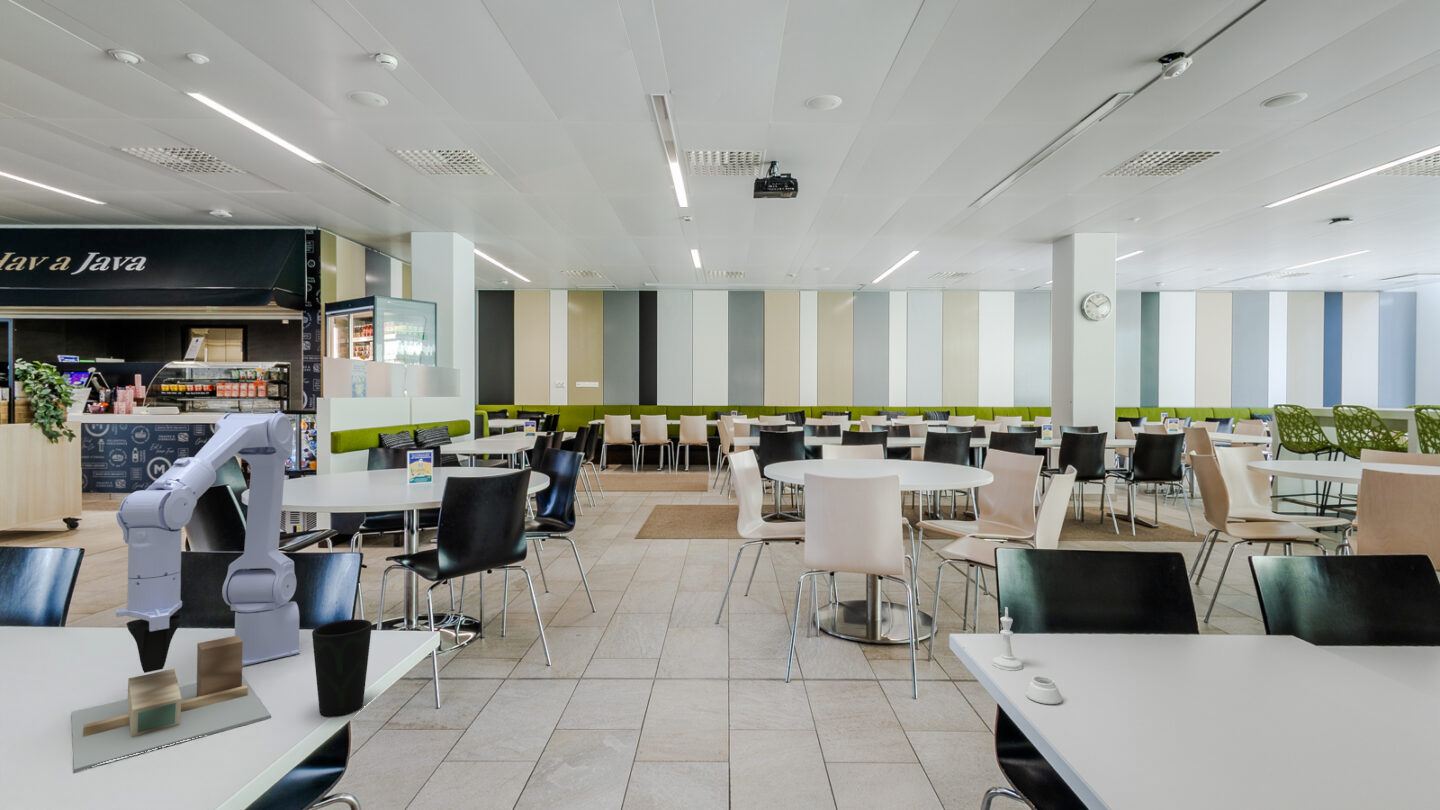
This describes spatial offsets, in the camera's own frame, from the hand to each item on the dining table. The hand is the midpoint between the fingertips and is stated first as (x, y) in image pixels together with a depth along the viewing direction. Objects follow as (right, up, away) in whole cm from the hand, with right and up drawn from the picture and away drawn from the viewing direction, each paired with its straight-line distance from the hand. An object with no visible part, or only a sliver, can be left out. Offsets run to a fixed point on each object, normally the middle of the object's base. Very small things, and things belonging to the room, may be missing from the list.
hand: (153, 669), depth 92 cm
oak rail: (+1, -7, +1) cm, 7 cm away
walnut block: (+3, -7, +8) cm, 11 cm away
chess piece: (+131, -8, +20) cm, 133 cm away
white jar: (+131, -8, +7) cm, 131 cm away
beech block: (-1, -3, +1) cm, 4 cm away
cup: (+25, -8, +4) cm, 26 cm away
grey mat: (+1, -7, +1) cm, 7 cm away
